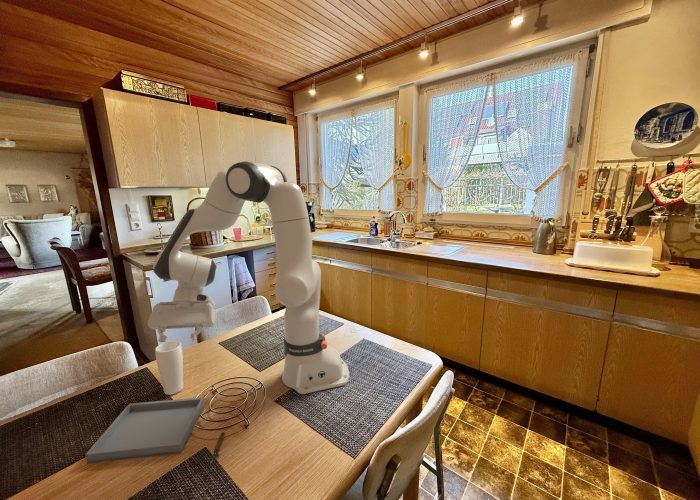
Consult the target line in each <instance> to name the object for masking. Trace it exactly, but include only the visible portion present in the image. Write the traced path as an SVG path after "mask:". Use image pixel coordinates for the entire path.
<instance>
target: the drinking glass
mask: <svg viewBox="0 0 700 500" xmlns="http://www.w3.org/2000/svg"><path fill="white" fill-rule="evenodd" d="M182 346H183V345H182V343H181V342H180V341H178V340H169V341H166V342H161V343H160V344H159V345H157V346H156V347H155V349H154V350H155V360H156V365H157V369H158V372H159V375H160V380H161V384H162V388H163V393H164V394H165V395H168V396H171V395H175V394H176V395H177V394H178V393H179V392H181V391H182V390H183V389H184V386H185V384H184V365H183V364H184V361H183V360H184V359H183V358H184V357H183V347H182Z"/></svg>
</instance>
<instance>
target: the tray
mask: <svg viewBox="0 0 700 500" xmlns="http://www.w3.org/2000/svg"><path fill="white" fill-rule="evenodd" d="M205 406H206V398H205V396H202V397H193V398H192V397H191V398H189V397H188V398H179V399H178V398H177V399H167V400H156V401H145V402H133V403H128V405H127V406H126V407H125V408H124V409H123V410H122V412H120V414H118V416H117V417H116V418H115V420H114V421H113V422H112V423H111V424H110V425H109V427H107V429H106V430H105V431H104V432H103V433H102V434H101V435H100V437H99V438H97V440H96V441H95V443H94V444H93V445H92V446H91V447H90V449H89V450H88V451H87V452H86V453H85V454H84V456H85V459H86V464H87V465H88V464H89V465H90V464H96V463H98V464H99V463H107V462H115V461H116V462H117V461H124V460H125V461H126V460H133V459H134V460H135V459H143V458H144V459H145V458H150V457H159V456H160V457H161V456H169V455H170V456H171V455H178V454H182V453H183V450H184V449H185V446H186V445H187V442H188V441H189V438H190V437H191V435H192V433H193V430H194V428H195V427H196V425H197V423H198V421H199V418H200V416H201V414H202V413H203V410H204V408H205Z"/></svg>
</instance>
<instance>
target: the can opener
mask: <svg viewBox="0 0 700 500" xmlns="http://www.w3.org/2000/svg"><path fill="white" fill-rule="evenodd" d="M225 436H226V432H224V431H222V432H221V433H220V435H219V437H218V440H217V443H216V446H215V448H214V452H213V454H212V455H210V456H209V457H210V458H209V457H208V458H209V460H208V459H207V460H208V466H209V465H210V466H213V465H214V464H213V462H214V461H215V459H218V458H219V457H220V454H219V452H220V450H221V446H222V444H223V442H224V440H225ZM209 462H210V463H209Z"/></svg>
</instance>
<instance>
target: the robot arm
mask: <svg viewBox="0 0 700 500" xmlns="http://www.w3.org/2000/svg"><path fill="white" fill-rule="evenodd" d="M287 180H288V179H287V177H286V174H285V173H284V172H283V171H282V170H281V169H279V168H278V167H276V166H275V165H274V166H273V165H269V164H265V163H262V162H258V161H257V162H254V161H253V162H252V161H238V162H236V163H234V164H233V165H231V166H230V167H228V169H224V170H221V171H219V172H218V173H217V174H216V175H215V177H214V179H213V181H212V182H211V184H210V185H209V188H208V190H207V191H206V195H205V198H204V200H202V201H203V202H202V203H200V205H199V206H197V207H196V208H192V209H189V210H187V212H186V213H184V215H183V217H182V218H181V219H180V221H179V222H178V223H177V226H176V227H175V229H174V230H173V232H172V234H171V235H170V237H169V238H168V241H167V242H166V244H165V245H164V247H163V248H162V250H160V252H159V253H158V254H157V256H156V257H155V259H154V261H153V264H152V272H153V273H154V274H155V275H156V276H157V278H159V279H160V280H167V281H168V280H169V281H177V283H178V284H177V287H176V289H175V290H174V294H173V299H172V301H160V302H159V303H156V304H155V305H154V306H153V307H152V308H153V309H152V311H151V314H150V316H149V317H148V320H147V326H148V327H149V328H150V329H151V330H157V332H158V335H159V338H158V342H159V343H165V342H167V338H168V336H166V335H165V334H164V333H165V332H166V330H168V329H170V330H171V329H172V330H173V329H190V328H191V329H193V328H195V329H196V330H194V332H193V333H191V334H190V337H189V340H191V341H197V339H198V336H199V334H201V332H202V331H203V328H207V327H208V328H210V327H213V326H214V325H215V323H216V315H217V313H216V309H215V307H216V306H215V305H216V302H215V300H214V299H213V298H212V297H211V296H210V295H208V294H204V292H203V290H204V287H207V286H209V285H211V284H213V283H214V281H215V275H216V270H217V265H216V262H215V261H214V260H213V259H212V258H209V257H204V256H200V255H196V254H192V253H187V252H182V251H181V248H182V247H183V245H184V243H185V242H186V240H188V238H189V236H191V235H193V234H194V233H203V232H221V231H224V230H228V229H229V228H231V227H233V226H234V225H235V224H236V222H237V220H238V218H239V216H240V214H241V212H242V209H243V207H244V204H245V202H246V201H248V202H252V203H253V202H254V203H257V204H260V203H262V202H263V203H265V204H266V206H267V207H268V209H269V212H270V218H271V224H272V229H273V235H274V237H273V238H274V243H275V252H276V257H275V258H276V264H275V265H276V267H275V268H276V269H275V270H276V273H275V274H276V277H275V278H276V281H275V285H274V295H275V299H277V301H278V302H279V303H280V304H281V305H283V306H285V309H284V310H285V311H284V314H283V315H284V316H283V317H284V319H283V320H284V323H283V324H284V337H283V354H284V365H283V371H282V375H281V381H282V383H283V384H284V386H287V387H289V388H291V389H294V390H295V391H296V392H297V393H298V394H299V395H300V394H301V395H305V394H310V393H313V392H320V391H323V390H327V389H332V388H337V387H341V386H345V385H347V384H348V381H349V378H350V371H349V367H348V364H347V362H345V360H343V359H342V357H341V354H340V353H339V351H338V350H337V349H336V348H334V347H332V346H330V345H329V344H328V343H327V341H326V336H325V335H324V333H323V332H322V334H321V333H320V304H321V303H320V301H321V290H322V289H321V285H322V284H321V283H322V268H321V266H320V264H319V263H318V262H317V261H315V260H314V259H313V238H312V229H311V225H310V218H309V211H308V207H307V203H306V199H305V195H304V193H303V191H302V189H301V187H300V186H299V185H298V184H297V183H294V182H290V181H287Z"/></svg>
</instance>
